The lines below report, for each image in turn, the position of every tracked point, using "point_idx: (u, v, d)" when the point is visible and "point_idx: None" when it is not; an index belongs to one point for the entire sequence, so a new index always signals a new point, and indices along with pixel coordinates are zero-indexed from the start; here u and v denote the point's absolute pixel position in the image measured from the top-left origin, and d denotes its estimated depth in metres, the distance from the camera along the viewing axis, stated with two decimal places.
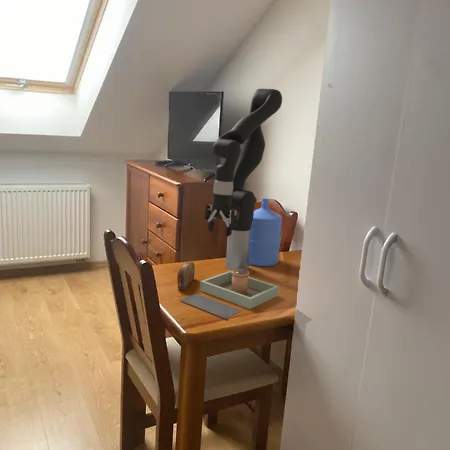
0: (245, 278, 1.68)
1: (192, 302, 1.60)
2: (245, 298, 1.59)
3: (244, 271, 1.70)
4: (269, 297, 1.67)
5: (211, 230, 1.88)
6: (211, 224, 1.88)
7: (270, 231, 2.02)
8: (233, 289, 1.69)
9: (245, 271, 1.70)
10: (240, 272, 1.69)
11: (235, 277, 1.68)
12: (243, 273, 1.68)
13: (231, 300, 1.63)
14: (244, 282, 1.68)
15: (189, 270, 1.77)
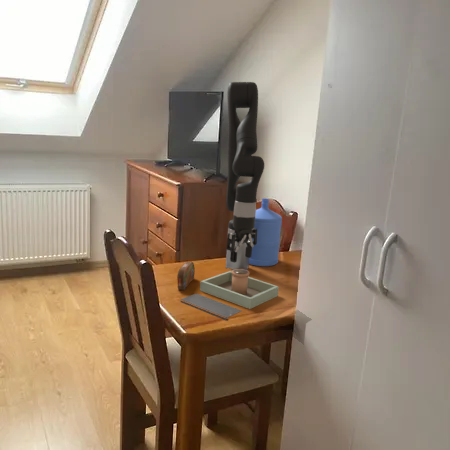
0: (245, 278, 1.68)
1: (192, 302, 1.60)
2: (245, 298, 1.59)
3: (244, 271, 1.70)
4: (269, 297, 1.67)
5: None
6: None
7: (270, 231, 2.02)
8: (233, 289, 1.69)
9: (245, 271, 1.70)
10: (240, 272, 1.69)
11: (235, 277, 1.68)
12: (243, 273, 1.68)
13: (231, 300, 1.63)
14: (244, 282, 1.68)
15: (189, 270, 1.77)
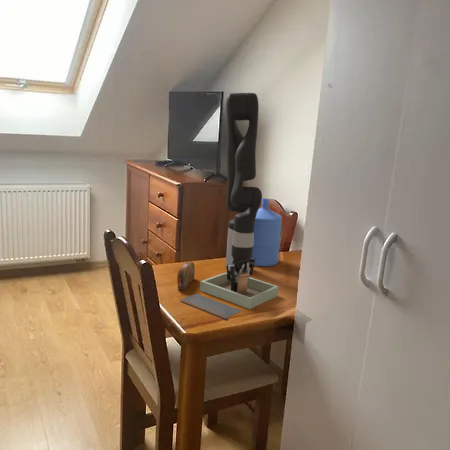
0: (245, 278, 1.68)
1: (192, 302, 1.60)
2: (245, 298, 1.59)
3: (244, 271, 1.70)
4: (269, 297, 1.67)
5: None
6: None
7: (270, 231, 2.02)
8: None
9: (245, 271, 1.70)
10: None
11: (235, 277, 1.68)
12: (243, 273, 1.68)
13: (231, 300, 1.63)
14: (244, 282, 1.68)
15: (189, 270, 1.77)
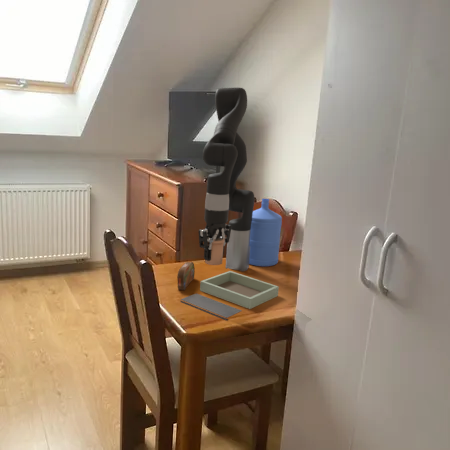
0: (220, 245, 1.52)
1: (192, 302, 1.60)
2: (245, 298, 1.59)
3: (219, 238, 1.54)
4: (269, 297, 1.67)
5: None
6: None
7: (270, 231, 2.02)
8: None
9: (220, 238, 1.55)
10: None
11: None
12: (218, 240, 1.52)
13: (231, 300, 1.63)
14: (219, 250, 1.53)
15: (189, 270, 1.77)
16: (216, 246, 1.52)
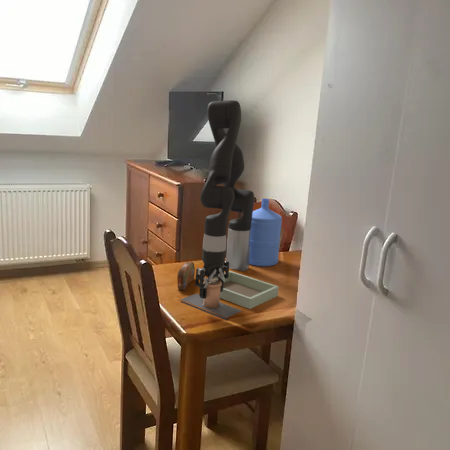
0: (217, 289, 1.56)
1: (192, 302, 1.60)
2: (245, 298, 1.59)
3: (216, 281, 1.58)
4: (269, 297, 1.67)
5: None
6: None
7: (270, 231, 2.02)
8: (204, 301, 1.57)
9: (217, 281, 1.58)
10: (212, 282, 1.57)
11: None
12: (215, 283, 1.56)
13: (231, 300, 1.63)
14: (216, 293, 1.56)
15: (189, 270, 1.77)
16: (213, 290, 1.55)
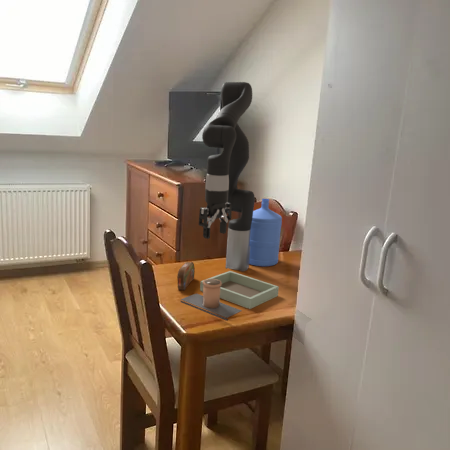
0: (217, 289, 1.56)
1: (192, 302, 1.60)
2: (245, 298, 1.59)
3: (216, 281, 1.58)
4: (269, 297, 1.67)
5: None
6: None
7: (270, 231, 2.02)
8: (204, 301, 1.57)
9: (217, 281, 1.58)
10: (212, 282, 1.57)
11: (206, 288, 1.56)
12: (215, 283, 1.56)
13: (231, 300, 1.63)
14: (216, 293, 1.56)
15: (189, 270, 1.77)
16: (213, 290, 1.55)
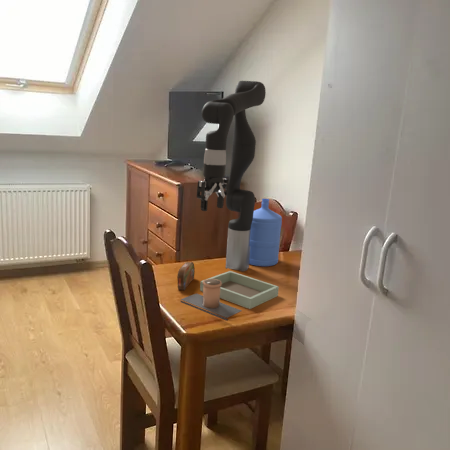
0: (217, 289, 1.56)
1: (192, 302, 1.60)
2: (245, 298, 1.59)
3: (216, 281, 1.58)
4: (269, 297, 1.67)
5: None
6: None
7: (270, 231, 2.02)
8: (204, 301, 1.57)
9: (217, 281, 1.58)
10: (212, 282, 1.57)
11: (206, 288, 1.56)
12: (215, 283, 1.56)
13: (231, 300, 1.63)
14: (216, 293, 1.56)
15: (189, 270, 1.77)
16: (213, 290, 1.55)
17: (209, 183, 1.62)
